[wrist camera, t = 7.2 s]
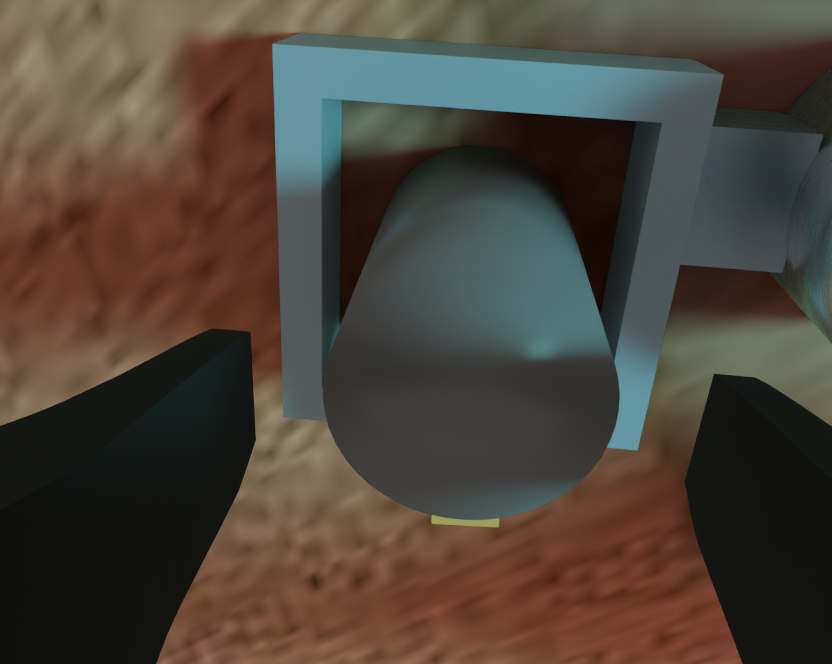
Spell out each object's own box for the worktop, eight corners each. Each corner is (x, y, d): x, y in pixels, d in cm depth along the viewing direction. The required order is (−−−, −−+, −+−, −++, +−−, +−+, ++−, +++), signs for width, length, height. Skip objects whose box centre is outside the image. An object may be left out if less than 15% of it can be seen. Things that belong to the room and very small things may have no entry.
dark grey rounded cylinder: (578, 146, 18) (637, 270, 11) (557, 379, 21) (593, 598, 14) (380, 143, 18) (312, 262, 11) (386, 373, 21) (335, 583, 14)
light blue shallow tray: (692, 59, 17) (724, 74, 15) (621, 398, 21) (637, 450, 19) (299, 32, 17) (272, 43, 15) (304, 369, 21) (283, 416, 19)
